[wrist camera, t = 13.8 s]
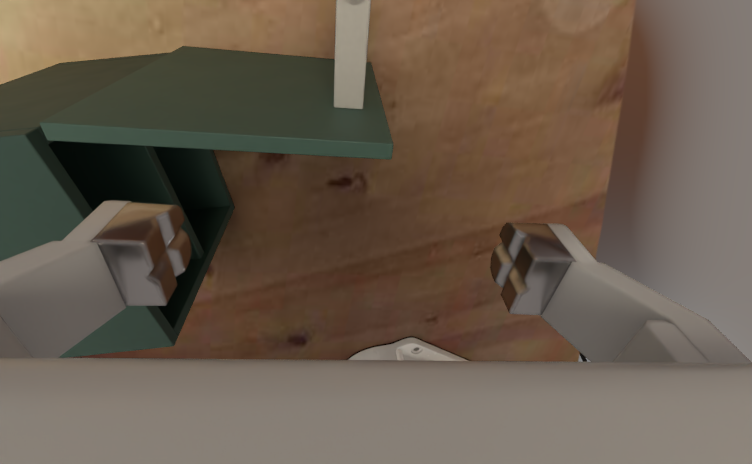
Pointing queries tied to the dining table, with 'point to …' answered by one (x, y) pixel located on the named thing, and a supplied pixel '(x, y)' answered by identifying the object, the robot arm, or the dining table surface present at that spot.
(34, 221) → the cupboard
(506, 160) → the dining table surface
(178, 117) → the door
